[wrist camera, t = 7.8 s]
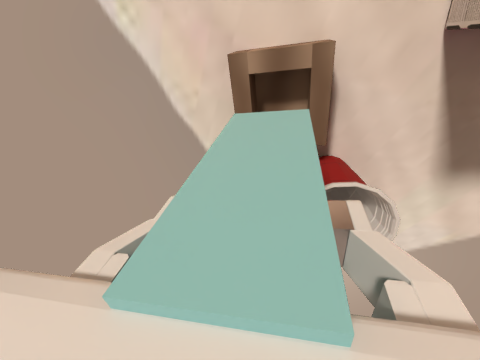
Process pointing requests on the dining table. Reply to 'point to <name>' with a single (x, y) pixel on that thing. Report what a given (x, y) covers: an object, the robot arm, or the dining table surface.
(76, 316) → the robot arm
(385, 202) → the plastic cup
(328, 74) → the pocket block
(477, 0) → the candy bar box
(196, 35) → the dining table surface
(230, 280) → the teal peg
